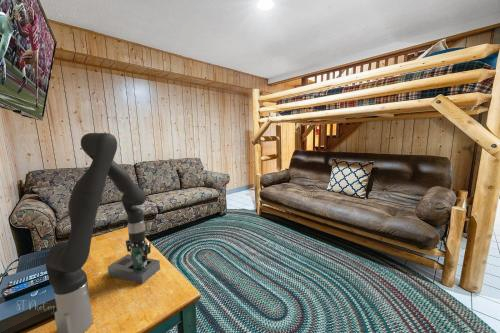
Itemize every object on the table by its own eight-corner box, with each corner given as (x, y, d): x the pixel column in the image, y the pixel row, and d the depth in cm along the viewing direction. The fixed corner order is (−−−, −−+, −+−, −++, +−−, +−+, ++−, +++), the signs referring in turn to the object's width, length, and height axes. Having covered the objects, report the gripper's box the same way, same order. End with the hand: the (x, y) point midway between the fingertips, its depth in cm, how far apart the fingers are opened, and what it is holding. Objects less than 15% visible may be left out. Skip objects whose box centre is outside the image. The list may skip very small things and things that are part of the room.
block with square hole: (142, 283, 102) (141, 274, 101) (108, 275, 108) (107, 266, 107) (160, 269, 113) (159, 260, 112) (128, 262, 119) (127, 253, 119)
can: (141, 276, 106) (139, 248, 104) (131, 275, 107) (128, 247, 105) (149, 269, 112) (147, 242, 109) (139, 267, 113) (137, 241, 111)
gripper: (119, 231, 104) (122, 262, 107) (142, 234, 100) (145, 267, 102) (131, 225, 112) (134, 254, 114) (153, 228, 107) (156, 258, 110)
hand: (139, 260), depth 108 cm, fingers closed on can, 6 cm apart
